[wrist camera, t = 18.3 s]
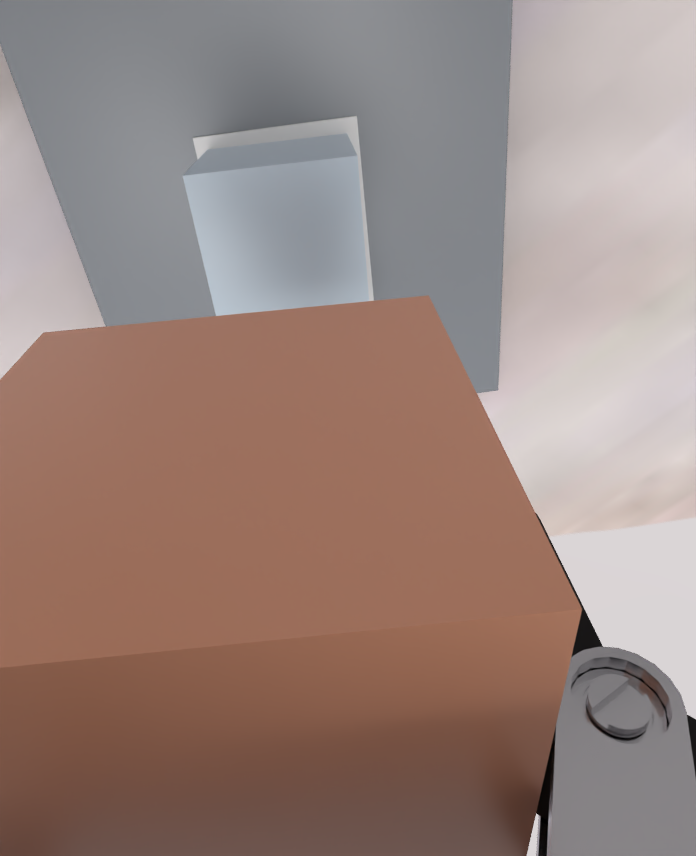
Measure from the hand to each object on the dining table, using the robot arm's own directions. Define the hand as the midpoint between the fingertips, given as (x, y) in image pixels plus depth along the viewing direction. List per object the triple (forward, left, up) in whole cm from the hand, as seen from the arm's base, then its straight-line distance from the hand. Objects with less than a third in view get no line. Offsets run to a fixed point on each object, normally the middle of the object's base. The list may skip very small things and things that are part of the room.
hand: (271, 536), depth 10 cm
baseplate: (0, 0, -21) cm, 21 cm away
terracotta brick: (0, 0, -1) cm, 1 cm away
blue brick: (0, 0, -20) cm, 20 cm away
